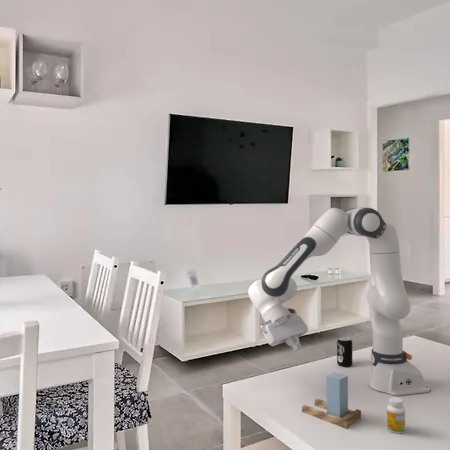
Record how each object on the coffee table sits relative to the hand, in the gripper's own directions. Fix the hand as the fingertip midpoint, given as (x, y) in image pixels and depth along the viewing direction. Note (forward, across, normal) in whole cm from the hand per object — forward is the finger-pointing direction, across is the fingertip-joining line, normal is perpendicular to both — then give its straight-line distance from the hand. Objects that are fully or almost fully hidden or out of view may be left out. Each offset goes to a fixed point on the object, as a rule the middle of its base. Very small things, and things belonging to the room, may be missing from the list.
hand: (298, 348), depth 171 cm
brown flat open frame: (+24, -2, +4) cm, 24 cm away
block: (+26, -2, +1) cm, 26 cm away
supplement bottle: (+39, +4, -11) cm, 40 cm away
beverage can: (+8, +45, +20) cm, 50 cm away
